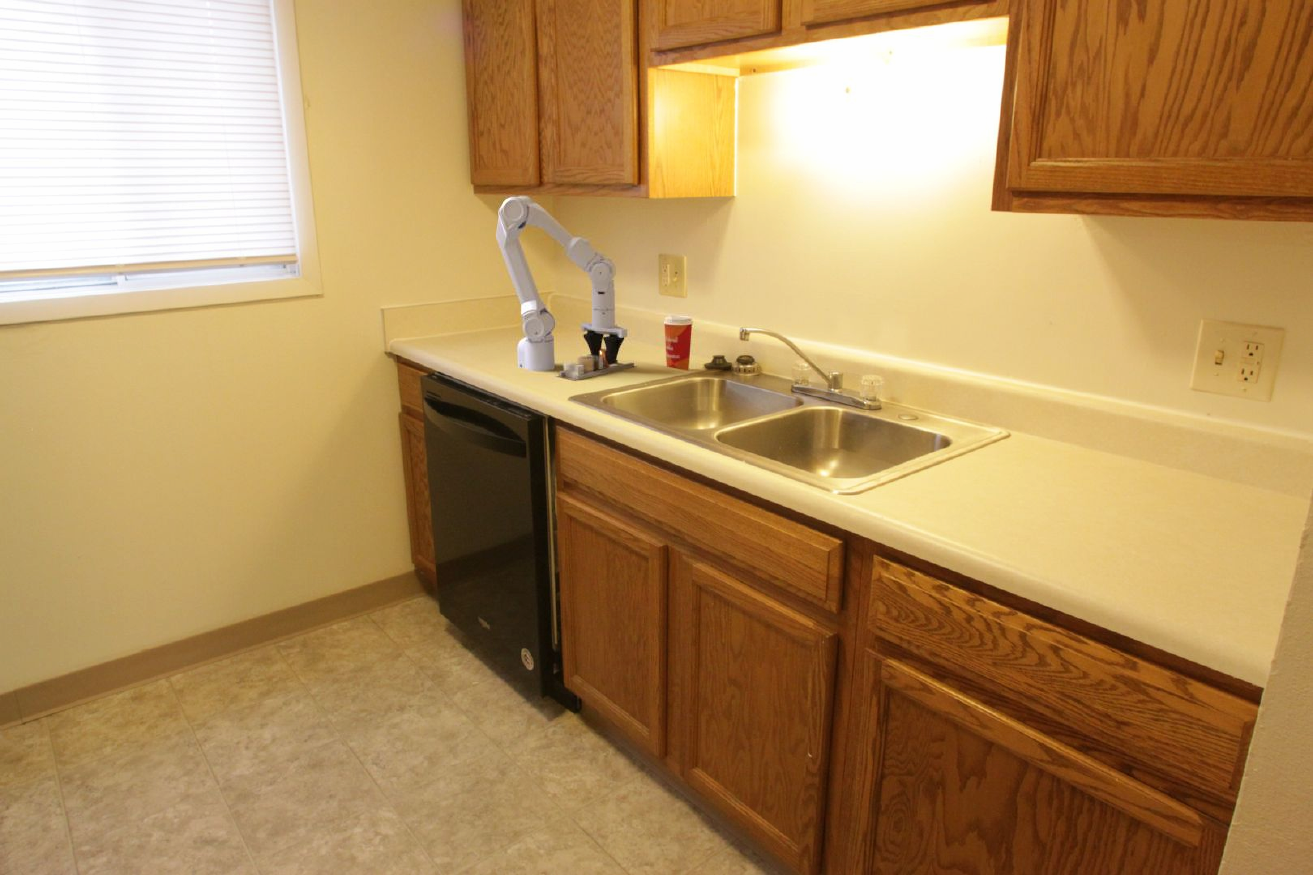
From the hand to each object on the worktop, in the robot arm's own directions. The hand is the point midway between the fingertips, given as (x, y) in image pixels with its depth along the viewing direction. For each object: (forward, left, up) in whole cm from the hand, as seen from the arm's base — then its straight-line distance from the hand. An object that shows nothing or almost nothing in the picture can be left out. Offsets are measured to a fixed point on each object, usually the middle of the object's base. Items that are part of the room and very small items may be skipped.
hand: (604, 362), depth 222 cm
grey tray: (0, -2, -3) cm, 4 cm away
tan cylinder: (0, -6, -2) cm, 7 cm away
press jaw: (0, 0, -2) cm, 2 cm away
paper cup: (+10, +16, -4) cm, 20 cm away
